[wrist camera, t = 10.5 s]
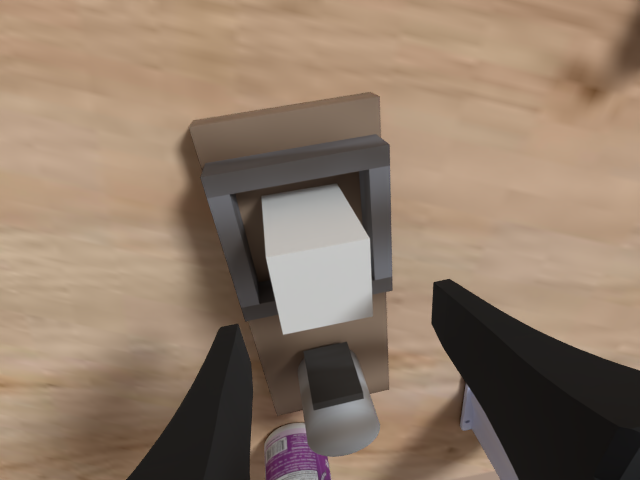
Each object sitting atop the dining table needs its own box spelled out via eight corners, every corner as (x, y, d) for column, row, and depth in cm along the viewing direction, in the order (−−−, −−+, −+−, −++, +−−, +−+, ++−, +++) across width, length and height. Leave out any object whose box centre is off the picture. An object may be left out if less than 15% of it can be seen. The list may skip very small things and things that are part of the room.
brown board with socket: (383, 373, 29) (414, 452, 24) (276, 398, 29) (282, 485, 23) (370, 92, 18) (423, 116, 13) (193, 120, 17) (166, 159, 12)
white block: (343, 254, 21) (373, 324, 16) (276, 266, 21) (284, 343, 15) (336, 183, 19) (369, 238, 14) (261, 195, 18) (265, 257, 13)
